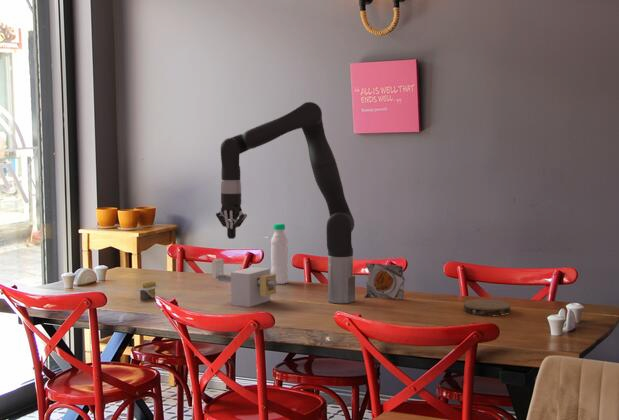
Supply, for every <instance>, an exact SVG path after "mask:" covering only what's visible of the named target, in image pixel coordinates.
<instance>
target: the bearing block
mask: <svg viewBox="0 0 619 420" xmlns="http://www.w3.org/2000/svg"><path fill="white" fill-rule="evenodd" d="M267 274H271V268H268V267H255V266H251V267H247V268H244V269H239V270H238V269H237V270H234V271H231V272H230V276H231V282H230V301H231V302H230V305H231V306H236V307H238V306H239V307H246V308H251V307H254V306H257V305H260V304H264V303H266V302H269V301H271V295H268V296H260V285H257V279H260V276H264V275H267Z"/></svg>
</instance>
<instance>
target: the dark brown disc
mask: <svg viewBox="0 0 619 420" xmlns="http://www.w3.org/2000/svg"><path fill="white" fill-rule="evenodd" d="M463 312H464V313H466V314H468V315H472V316H479V317H494V316H493V315H501V314H506V313H509V312H510V313H511V304H510V303H509V302H506V301H502V300H496V299H484V298H483V299H470V300H466V301H464V303H463Z"/></svg>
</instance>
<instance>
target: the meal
mask: <svg viewBox="0 0 619 420" xmlns="http://www.w3.org/2000/svg"><path fill="white" fill-rule="evenodd" d="M365 267H366V268H367V271H368V272H369V274H367V275H366V277H367V280H366V282H365V284H366V286H365V287H366V293H365V296H364V297H363V298H364V299H366V298H384V297H391V298H390V299H393V298H396V299H397V298H398V299H399V298H400V299H399V300H402V299H403V300H404V298H405V297H404V296H405V293H404V292H405V291H404V288H405V280H406V279H405V276H404V266H403V265H395V264H383V263H377V262H375V263H373V262H371V263H368V262H366V263H365ZM401 287H402V289H401Z"/></svg>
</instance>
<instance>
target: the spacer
mask: <svg viewBox="0 0 619 420" xmlns="http://www.w3.org/2000/svg"><path fill="white" fill-rule="evenodd" d="M269 280H276V274H271V273H270V274H267V275H264V276H260V296H268V295H270V296H271V295H274V294H277V286H276V287H270V286H268V281H269Z"/></svg>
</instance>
